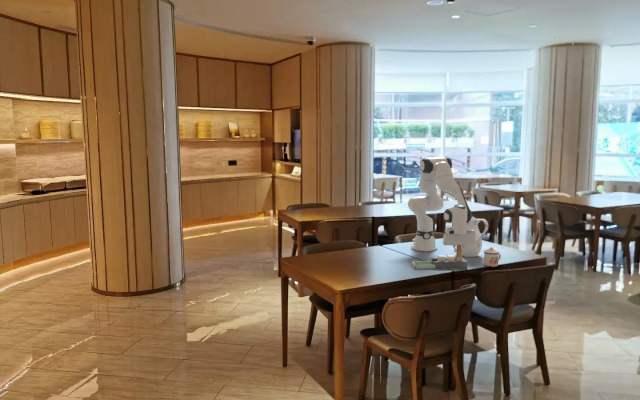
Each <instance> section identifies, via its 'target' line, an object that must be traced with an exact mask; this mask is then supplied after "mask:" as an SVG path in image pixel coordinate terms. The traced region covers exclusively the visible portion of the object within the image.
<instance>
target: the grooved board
mask: <svg viewBox="0 0 640 400" xmlns="http://www.w3.org/2000/svg"><path fill="white" fill-rule="evenodd" d="M431 261H432V265H436V269H435V270H444V269H443V268H467V269H468V261H467V260H466V259H465V257H464V256H462V261H457V260H456V259H455V261H447V257H446V261H438V257H431Z"/></svg>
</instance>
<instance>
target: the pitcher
mask: <svg viewBox="0 0 640 400" xmlns="http://www.w3.org/2000/svg"><path fill="white" fill-rule="evenodd" d="M481 222H483V223H484V230H483V232H480V231H481V230H480V229H479V223H481ZM466 224H467V231H472V230H473V231H475V233H476V236H475V241H476V244H475V245H465V248H464V250H463V252H461V256H462V257H463V258H476V257H478V256H479V254H480V253H481V252H482V251H481V250H482V248H483V237H484V236H485V234H486V233H487V232H488V229H489V223H488V220H486V219H485V218H477V217H475V216H473V215H472V218H471V220H470V221H469V222H468V223H466ZM481 233H482V234H481ZM462 247H463V246H462V245H461V249H462Z"/></svg>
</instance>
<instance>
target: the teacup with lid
mask: <svg viewBox="0 0 640 400" xmlns="http://www.w3.org/2000/svg"><path fill="white" fill-rule="evenodd" d="M500 260H501V253H500V251H499V250H496V249H495V248H494V247H493V246H491V247H489V248H488V249H485V250H484V251H483V265H484V266H485V265H487V266H486V267H489V266H491V268H495V267H498V266H499V261H500Z"/></svg>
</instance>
